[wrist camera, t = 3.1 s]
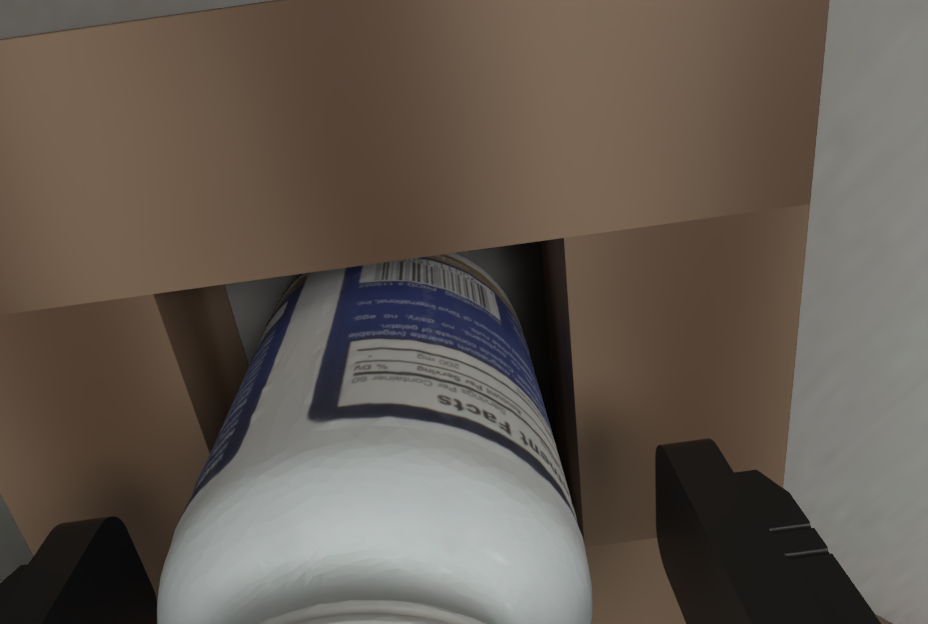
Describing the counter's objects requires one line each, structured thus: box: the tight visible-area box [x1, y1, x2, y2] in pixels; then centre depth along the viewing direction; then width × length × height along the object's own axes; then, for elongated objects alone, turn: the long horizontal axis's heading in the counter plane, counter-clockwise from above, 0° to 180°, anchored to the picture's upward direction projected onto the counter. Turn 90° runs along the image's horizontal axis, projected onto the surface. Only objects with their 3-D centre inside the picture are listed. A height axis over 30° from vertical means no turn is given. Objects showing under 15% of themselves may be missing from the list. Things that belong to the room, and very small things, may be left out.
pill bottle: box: [157, 253, 592, 624], centre depth 11 cm, size 5×5×10 cm
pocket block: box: [0, 0, 829, 624], centre depth 14 cm, size 14×14×3 cm
